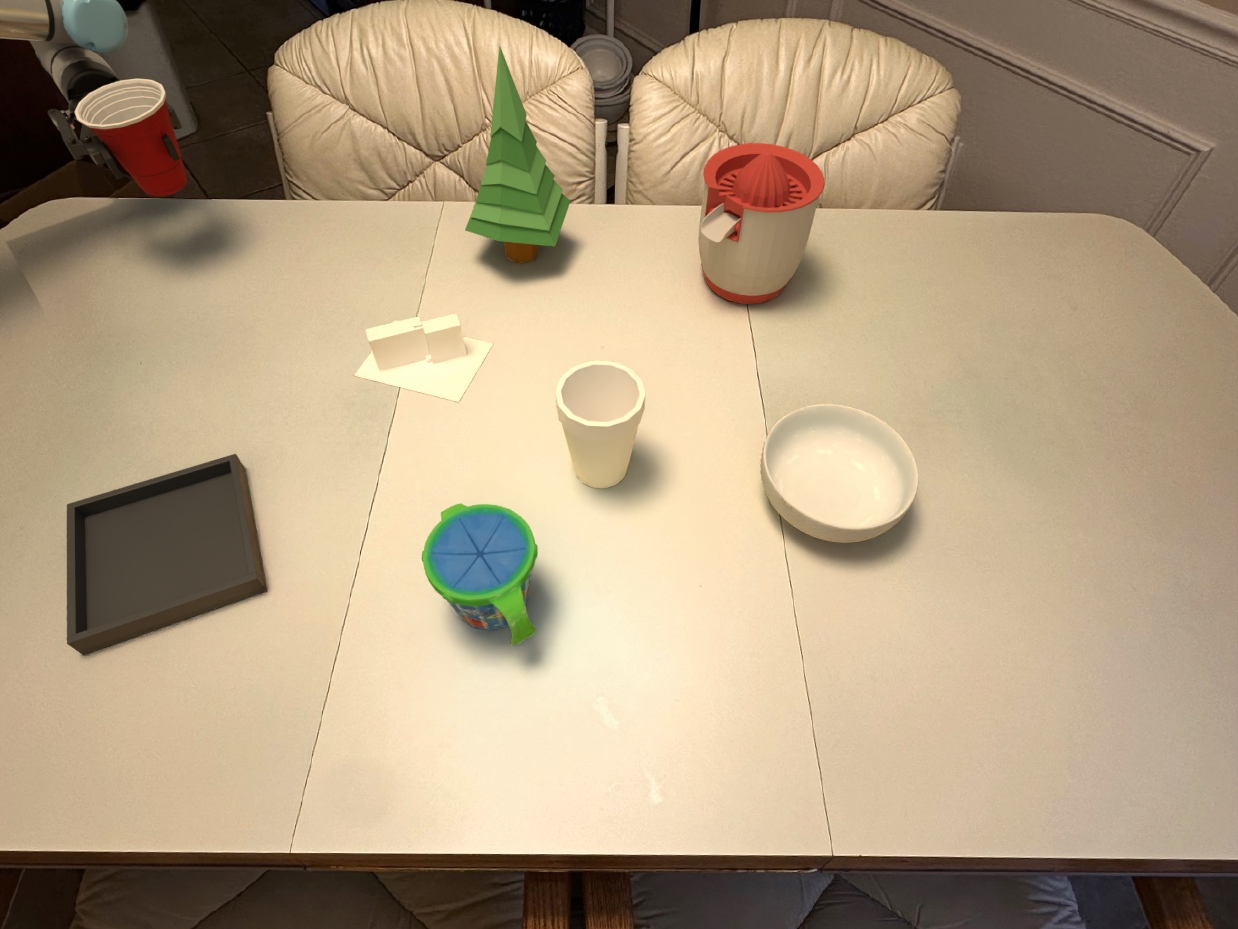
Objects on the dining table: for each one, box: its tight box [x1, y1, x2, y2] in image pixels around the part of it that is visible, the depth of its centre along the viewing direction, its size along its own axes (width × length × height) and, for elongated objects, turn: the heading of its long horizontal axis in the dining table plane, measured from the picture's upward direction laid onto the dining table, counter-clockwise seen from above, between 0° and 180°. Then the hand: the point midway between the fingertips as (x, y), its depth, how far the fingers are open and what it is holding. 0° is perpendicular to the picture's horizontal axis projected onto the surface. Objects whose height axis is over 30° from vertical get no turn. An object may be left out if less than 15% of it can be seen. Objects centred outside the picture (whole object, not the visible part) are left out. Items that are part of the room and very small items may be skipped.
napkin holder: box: [354, 312, 494, 403], centre depth 96 cm, size 15×11×6 cm
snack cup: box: [421, 502, 539, 646], centre depth 73 cm, size 16×10×10 cm
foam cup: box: [554, 360, 646, 489], centre depth 83 cm, size 10×9×13 cm
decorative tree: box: [464, 45, 571, 265], centre depth 100 cm, size 14×16×30 cm
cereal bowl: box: [759, 403, 920, 544], centre depth 83 cm, size 17×17×7 cm
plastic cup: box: [75, 78, 188, 197], centre depth 97 cm, size 11×11×12 cm
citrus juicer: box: [697, 142, 825, 305], centre depth 101 cm, size 16×17×20 cm
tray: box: [66, 453, 268, 656], centre depth 79 cm, size 18×18×3 cm
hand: (143, 159), depth 94 cm, fingers closed on plastic cup, 6 cm apart
